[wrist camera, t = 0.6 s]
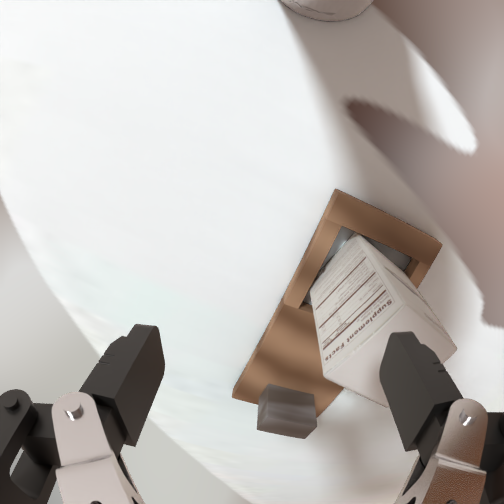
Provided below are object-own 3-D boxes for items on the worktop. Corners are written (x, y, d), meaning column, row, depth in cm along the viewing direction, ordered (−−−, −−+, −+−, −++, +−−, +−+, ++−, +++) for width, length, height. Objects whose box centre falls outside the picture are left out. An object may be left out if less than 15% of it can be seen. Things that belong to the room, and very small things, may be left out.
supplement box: (404, 269, 28) (461, 350, 17) (355, 319, 31) (386, 411, 19) (355, 226, 27) (408, 302, 15) (304, 283, 29) (320, 380, 18)
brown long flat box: (335, 188, 25) (354, 209, 19) (435, 238, 26) (468, 268, 20) (233, 388, 36) (227, 429, 30) (316, 409, 37) (320, 447, 31)
